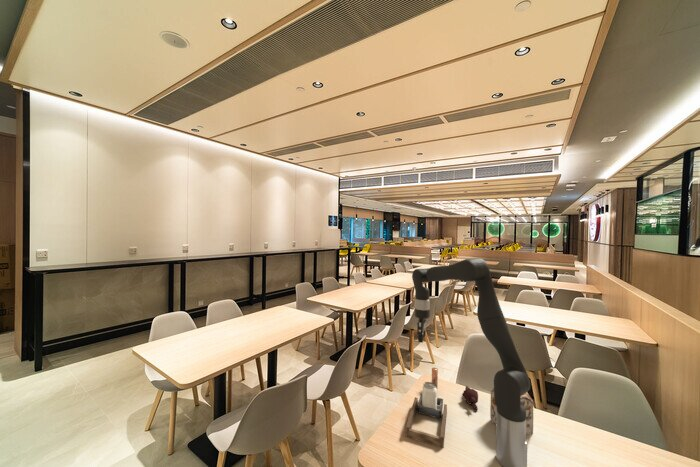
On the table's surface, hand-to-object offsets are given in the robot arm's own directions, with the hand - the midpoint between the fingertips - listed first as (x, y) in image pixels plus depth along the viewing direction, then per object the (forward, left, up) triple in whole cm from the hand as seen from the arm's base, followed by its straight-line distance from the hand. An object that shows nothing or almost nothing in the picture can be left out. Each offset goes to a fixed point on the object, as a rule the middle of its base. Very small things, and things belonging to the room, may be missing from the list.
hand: (421, 339), depth 141 cm
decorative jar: (-39, +9, -28) cm, 49 cm away
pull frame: (-6, +4, -27) cm, 28 cm away
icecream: (-23, -2, -28) cm, 37 cm away
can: (-5, +13, -28) cm, 31 cm away
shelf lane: (-6, +22, -28) cm, 36 cm away
